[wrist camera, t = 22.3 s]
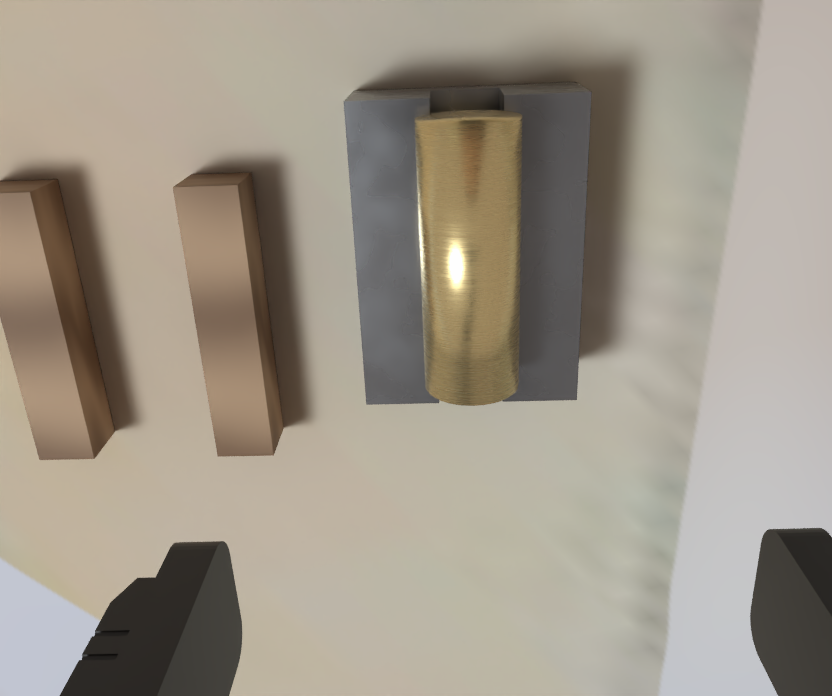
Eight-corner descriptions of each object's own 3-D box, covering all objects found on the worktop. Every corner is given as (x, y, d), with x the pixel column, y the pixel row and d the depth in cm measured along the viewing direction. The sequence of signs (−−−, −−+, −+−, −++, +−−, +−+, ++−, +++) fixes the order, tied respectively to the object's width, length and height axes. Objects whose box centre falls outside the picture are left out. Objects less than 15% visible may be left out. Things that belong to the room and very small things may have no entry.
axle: (518, 364, 32) (518, 406, 28) (430, 363, 32) (420, 404, 29) (521, 108, 28) (522, 123, 24) (420, 111, 28) (408, 126, 25)
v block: (564, 363, 35) (576, 400, 32) (373, 367, 35) (366, 404, 32) (575, 82, 30) (591, 91, 27) (353, 90, 31) (343, 101, 27)
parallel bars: (283, 428, 37) (273, 455, 35) (63, 432, 37) (39, 459, 35) (251, 172, 32) (237, 184, 30) (-2, 181, 32) (-34, 194, 30)
